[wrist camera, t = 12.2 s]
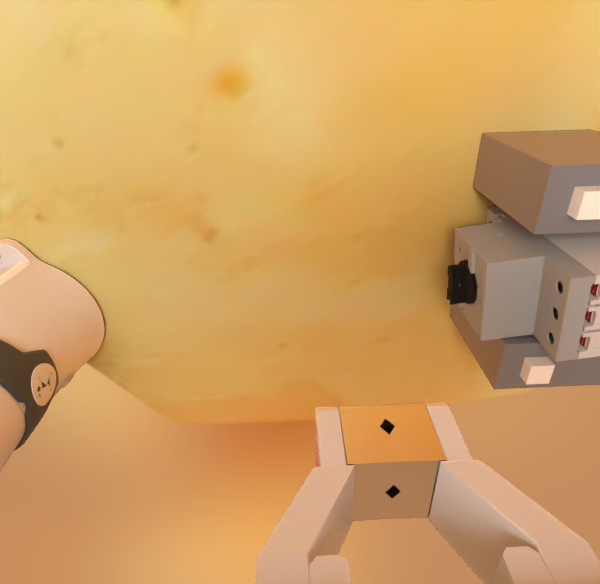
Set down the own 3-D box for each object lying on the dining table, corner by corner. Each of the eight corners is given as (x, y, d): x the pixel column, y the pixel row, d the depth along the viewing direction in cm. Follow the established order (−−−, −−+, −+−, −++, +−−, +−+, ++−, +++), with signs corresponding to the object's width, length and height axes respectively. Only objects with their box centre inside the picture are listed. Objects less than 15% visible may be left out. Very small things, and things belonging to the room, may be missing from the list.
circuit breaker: (425, 216, 44) (484, 291, 31) (569, 195, 43) (692, 262, 30) (425, 281, 48) (477, 372, 35) (558, 262, 47) (662, 347, 34)
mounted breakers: (450, 316, 50) (499, 398, 39) (482, 132, 40) (561, 170, 29) (536, 313, 50) (611, 393, 39) (590, 129, 40) (712, 165, 29)
